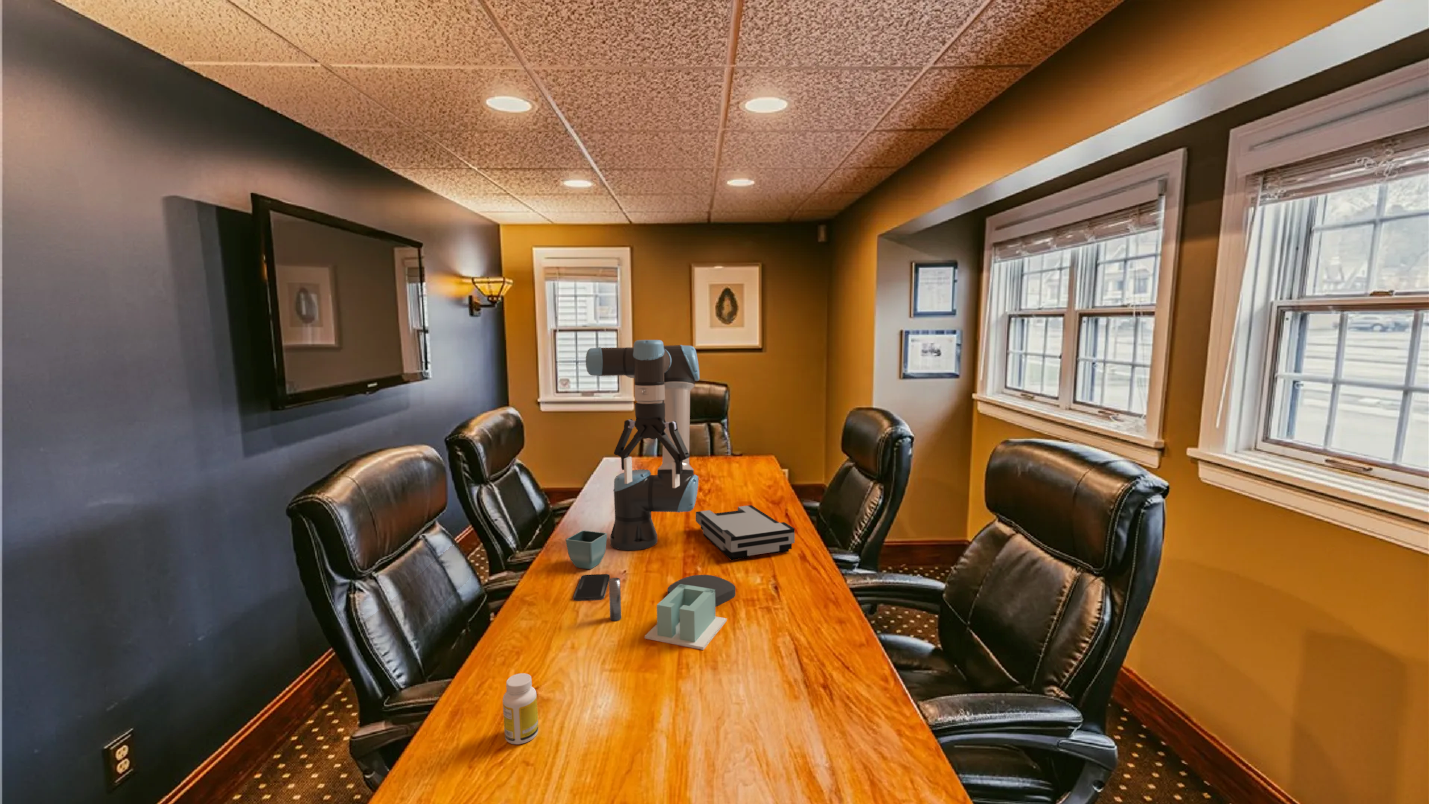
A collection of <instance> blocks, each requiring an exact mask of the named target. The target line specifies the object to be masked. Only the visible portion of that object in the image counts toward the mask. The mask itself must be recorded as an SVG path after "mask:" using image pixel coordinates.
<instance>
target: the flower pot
mask: <svg viewBox="0 0 1429 804" xmlns="http://www.w3.org/2000/svg"><path fill="white" fill-rule="evenodd" d="M607 538H608V533H606V532H599V531H591V530H581V531H579V532H577V533H575V534H573V535H572V536H569V537H567V538H566V539H565V543H566V548H567V553H568V556H569V559H570V562H572V564H573V565H574V567H575V568H579V569H586V570H592V569H593V568H594V567H595V568H596V566H598V565H600V564H601V562H602V560H603V558H604V556H605V554H606V548H607V541H608V540H607Z"/></svg>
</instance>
